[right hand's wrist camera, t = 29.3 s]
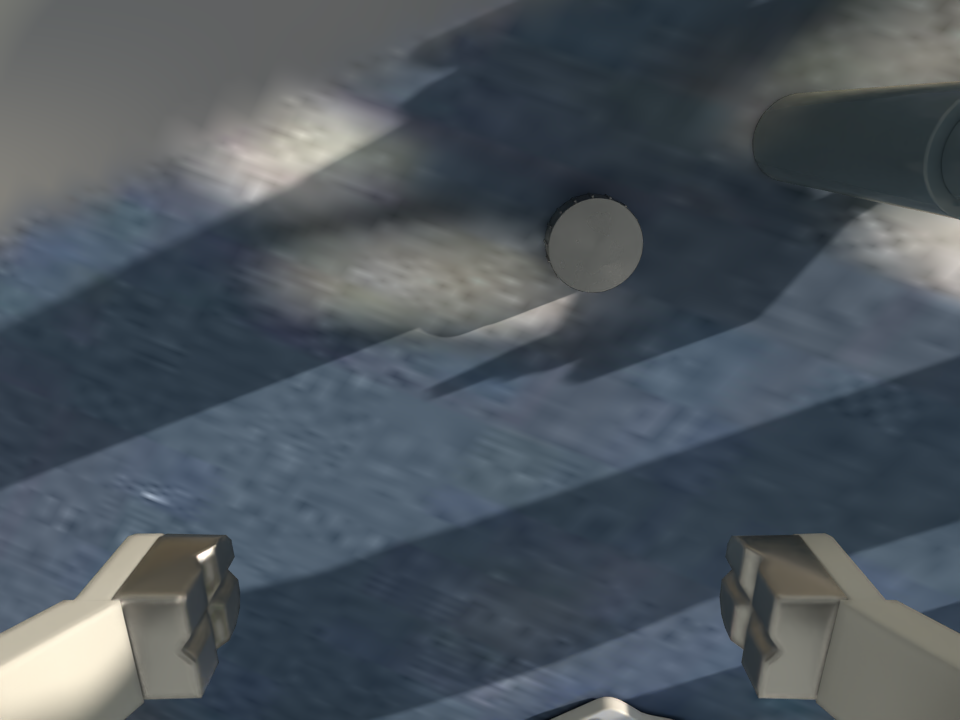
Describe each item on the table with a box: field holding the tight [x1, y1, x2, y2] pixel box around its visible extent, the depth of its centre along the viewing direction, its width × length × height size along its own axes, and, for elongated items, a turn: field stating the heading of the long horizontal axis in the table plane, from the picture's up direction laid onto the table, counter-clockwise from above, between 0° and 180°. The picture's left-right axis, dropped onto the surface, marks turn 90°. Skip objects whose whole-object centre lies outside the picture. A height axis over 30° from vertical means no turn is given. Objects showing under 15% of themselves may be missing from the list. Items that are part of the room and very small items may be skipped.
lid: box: [544, 193, 643, 293], centre depth 35 cm, size 5×5×2 cm
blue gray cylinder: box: [753, 81, 960, 220], centre depth 26 cm, size 4×4×16 cm
